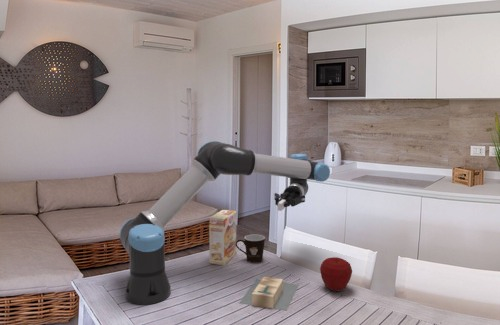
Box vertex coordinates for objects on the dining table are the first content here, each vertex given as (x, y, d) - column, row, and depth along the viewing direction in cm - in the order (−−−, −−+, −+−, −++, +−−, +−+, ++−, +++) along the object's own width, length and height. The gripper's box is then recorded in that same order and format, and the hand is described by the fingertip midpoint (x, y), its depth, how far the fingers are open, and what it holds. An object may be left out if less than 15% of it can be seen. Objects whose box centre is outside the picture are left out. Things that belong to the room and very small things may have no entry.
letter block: (263, 287, 146) (251, 305, 133) (263, 276, 145) (251, 293, 132) (282, 290, 144) (272, 308, 131) (283, 279, 143) (272, 296, 130)
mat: (238, 304, 134) (238, 303, 134) (256, 280, 153) (256, 279, 153) (286, 311, 129) (286, 310, 129) (298, 285, 148) (298, 284, 148)
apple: (316, 292, 143) (317, 260, 141) (324, 280, 153) (324, 250, 151) (348, 298, 138) (349, 265, 137) (354, 286, 148) (355, 255, 147)
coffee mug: (268, 259, 174) (268, 236, 173) (258, 265, 167) (258, 242, 166) (245, 254, 180) (245, 232, 179) (234, 260, 173) (234, 237, 172)
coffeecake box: (224, 265, 167) (224, 219, 165) (208, 263, 169) (208, 217, 167) (237, 253, 181) (237, 210, 179) (222, 251, 183) (221, 209, 181)
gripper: (308, 203, 171) (296, 218, 149) (278, 201, 175) (262, 215, 153) (309, 186, 170) (297, 198, 148) (278, 184, 174) (262, 195, 152)
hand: (279, 207), depth 150 cm, fingers closed
